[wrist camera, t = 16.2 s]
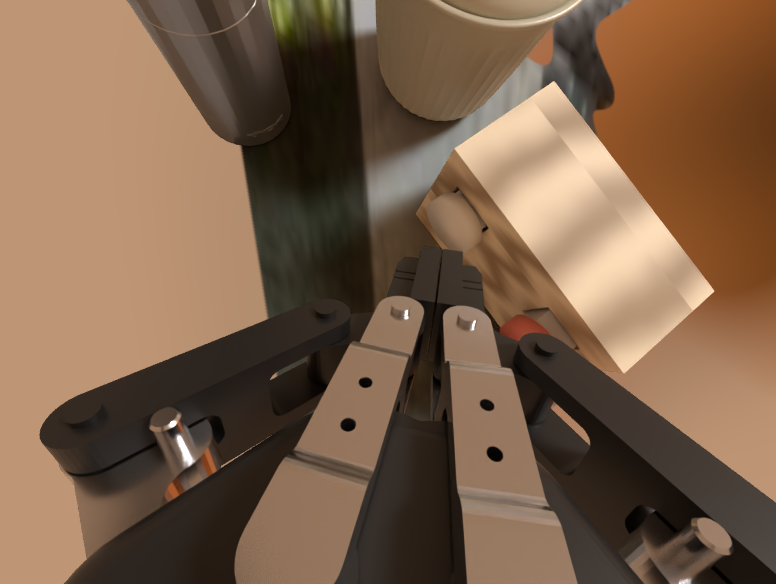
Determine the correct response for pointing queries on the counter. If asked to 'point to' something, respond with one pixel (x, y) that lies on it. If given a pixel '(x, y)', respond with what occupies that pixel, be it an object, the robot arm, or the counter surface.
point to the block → (568, 233)
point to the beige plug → (455, 221)
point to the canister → (457, 49)
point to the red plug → (536, 326)
